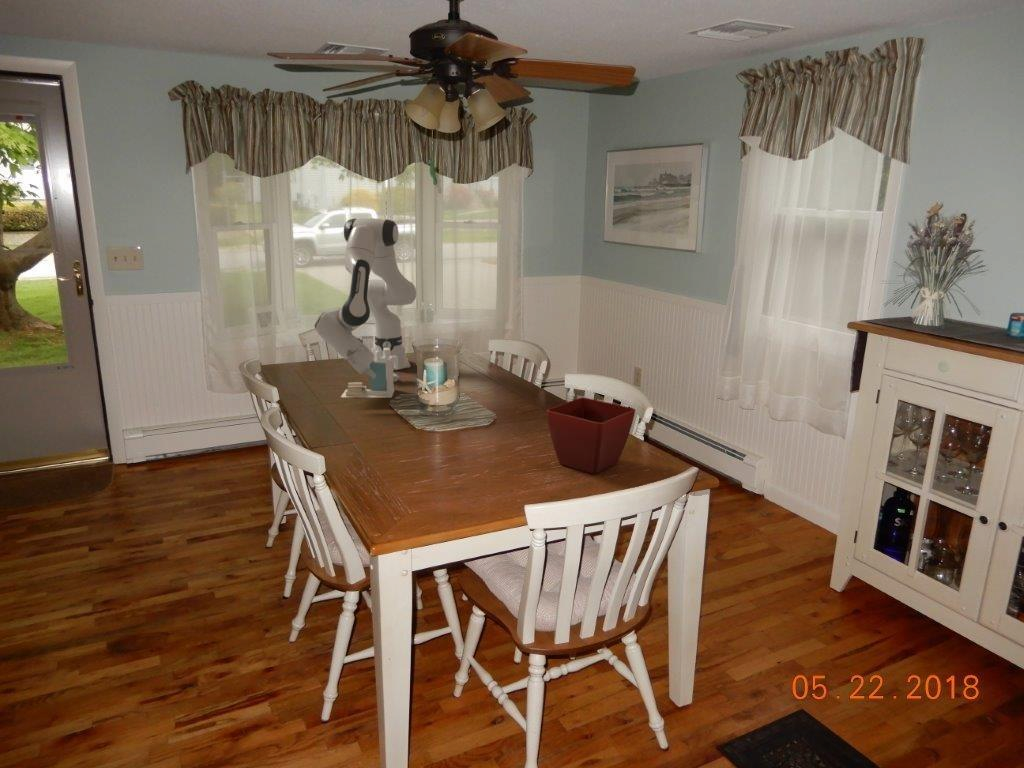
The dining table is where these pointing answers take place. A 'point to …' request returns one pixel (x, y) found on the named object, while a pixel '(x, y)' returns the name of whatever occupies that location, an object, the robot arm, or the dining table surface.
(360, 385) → the offcut top
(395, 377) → the figurine
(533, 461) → the dining table surface
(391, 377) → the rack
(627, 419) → the plant pot
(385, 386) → the tall board
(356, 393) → the plate
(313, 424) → the dining table surface
